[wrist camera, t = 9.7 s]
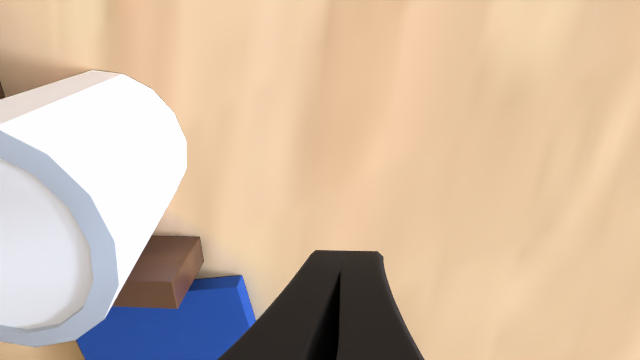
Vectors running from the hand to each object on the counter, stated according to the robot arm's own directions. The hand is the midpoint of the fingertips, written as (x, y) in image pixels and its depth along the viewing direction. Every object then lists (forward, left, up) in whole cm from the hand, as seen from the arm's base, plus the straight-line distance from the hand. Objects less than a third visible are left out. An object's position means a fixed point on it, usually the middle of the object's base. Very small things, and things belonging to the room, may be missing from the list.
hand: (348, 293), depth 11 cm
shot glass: (+9, 0, -9) cm, 13 cm away
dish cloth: (+9, +10, -9) cm, 16 cm away
